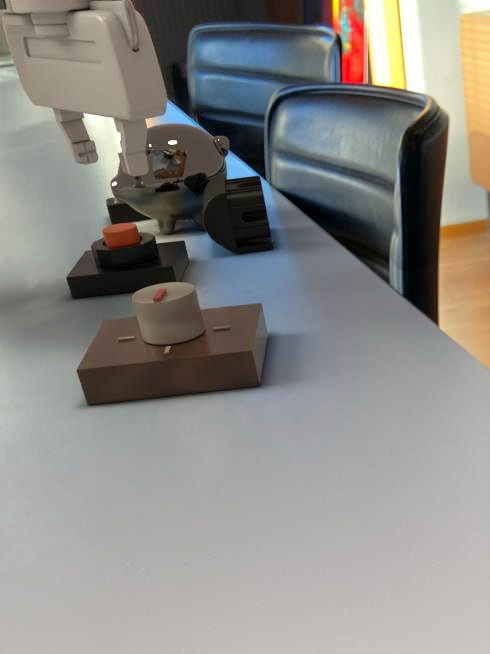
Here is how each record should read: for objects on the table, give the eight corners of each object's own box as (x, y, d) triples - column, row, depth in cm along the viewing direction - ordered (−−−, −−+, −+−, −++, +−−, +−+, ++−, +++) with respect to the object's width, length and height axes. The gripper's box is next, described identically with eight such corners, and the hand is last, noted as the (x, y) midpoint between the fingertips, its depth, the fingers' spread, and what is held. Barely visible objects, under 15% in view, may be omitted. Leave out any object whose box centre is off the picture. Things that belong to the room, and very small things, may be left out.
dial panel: (87, 405, 82) (75, 367, 81) (113, 352, 92) (103, 317, 90) (259, 385, 83) (251, 348, 81) (268, 335, 93) (261, 300, 91)
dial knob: (150, 325, 88) (138, 281, 86) (209, 320, 88) (199, 276, 86) (136, 347, 84) (123, 301, 81) (199, 341, 84) (188, 295, 81)
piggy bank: (126, 223, 131) (100, 124, 124) (243, 207, 133) (223, 110, 126) (120, 245, 122) (91, 141, 115) (245, 229, 124) (224, 125, 117)
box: (72, 298, 106) (60, 259, 104) (91, 270, 114) (80, 233, 112) (178, 287, 107) (168, 248, 104) (189, 260, 115) (180, 223, 112)
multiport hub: (197, 211, 133) (193, 192, 132) (111, 224, 131) (106, 205, 129) (194, 204, 136) (190, 186, 135) (110, 216, 134) (105, 198, 133)
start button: (103, 251, 107) (98, 233, 106) (109, 241, 110) (105, 224, 109) (138, 247, 107) (133, 230, 106) (143, 238, 110) (138, 221, 109)
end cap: (210, 236, 122) (197, 175, 118) (269, 228, 123) (258, 168, 119) (211, 258, 115) (196, 195, 111) (274, 250, 115) (262, 186, 111)
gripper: (162, -22, 77) (203, 174, 85) (47, -20, 90) (92, 151, 98) (85, -14, 74) (135, 189, 82) (-23, -13, 86) (29, 163, 94)
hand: (111, 168), depth 90 cm, fingers open, 8 cm apart
